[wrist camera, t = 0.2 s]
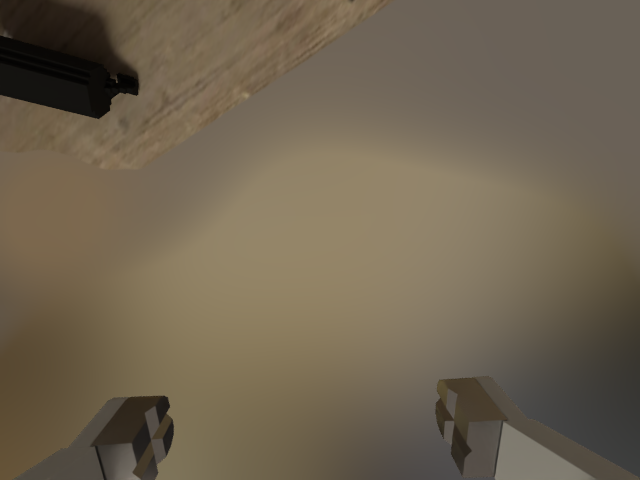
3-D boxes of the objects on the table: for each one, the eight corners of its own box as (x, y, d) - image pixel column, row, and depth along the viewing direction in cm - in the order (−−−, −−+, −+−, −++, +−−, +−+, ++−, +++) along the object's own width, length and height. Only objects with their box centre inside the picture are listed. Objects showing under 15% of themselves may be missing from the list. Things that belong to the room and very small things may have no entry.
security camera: (141, 106, 53) (116, 128, 46) (18, 73, 49) (-31, 92, 42) (137, 64, 49) (109, 81, 42) (2, 24, 44) (-57, 35, 37)
